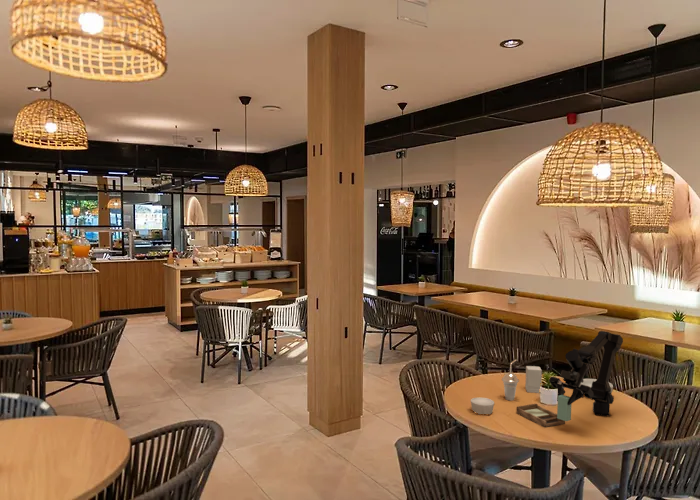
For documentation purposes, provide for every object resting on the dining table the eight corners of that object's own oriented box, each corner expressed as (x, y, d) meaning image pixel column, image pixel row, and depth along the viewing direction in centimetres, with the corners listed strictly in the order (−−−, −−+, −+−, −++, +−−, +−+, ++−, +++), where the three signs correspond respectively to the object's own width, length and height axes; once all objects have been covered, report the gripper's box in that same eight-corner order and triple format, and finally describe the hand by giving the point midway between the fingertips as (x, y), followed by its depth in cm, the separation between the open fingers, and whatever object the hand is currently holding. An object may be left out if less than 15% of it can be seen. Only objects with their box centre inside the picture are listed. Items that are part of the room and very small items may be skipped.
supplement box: (541, 393, 278) (542, 370, 277) (526, 392, 279) (527, 369, 278) (539, 389, 285) (540, 366, 284) (525, 388, 286) (525, 365, 286)
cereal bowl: (619, 397, 273) (619, 384, 272) (601, 403, 263) (602, 390, 263) (588, 388, 287) (589, 376, 286) (570, 394, 277) (571, 381, 277)
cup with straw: (497, 396, 271) (499, 359, 270) (513, 395, 274) (514, 358, 272) (507, 402, 263) (508, 363, 262) (522, 401, 265) (523, 362, 264)
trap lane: (565, 423, 236) (565, 416, 236) (544, 427, 232) (545, 420, 231) (535, 409, 253) (536, 403, 253) (516, 413, 249) (516, 406, 248)
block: (561, 416, 232) (562, 394, 231) (570, 419, 228) (571, 397, 228) (557, 418, 230) (557, 396, 229) (566, 421, 226) (567, 399, 225)
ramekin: (474, 406, 258) (474, 395, 257) (496, 410, 252) (497, 399, 252) (467, 413, 248) (467, 402, 248) (490, 417, 242) (490, 406, 242)
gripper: (551, 358, 237) (536, 387, 231) (591, 368, 222) (576, 399, 216) (560, 372, 243) (546, 400, 237) (599, 383, 228) (585, 413, 222)
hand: (562, 403), depth 228 cm, fingers closed on block, 4 cm apart
